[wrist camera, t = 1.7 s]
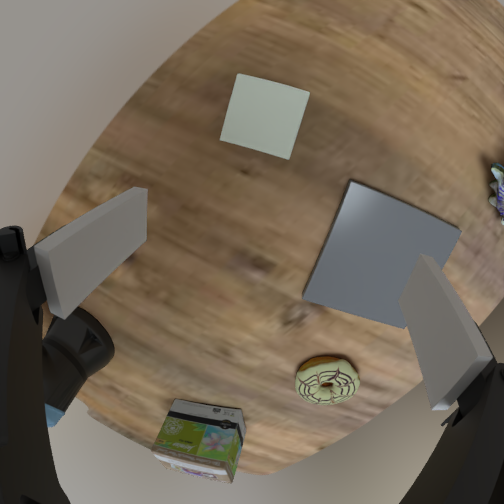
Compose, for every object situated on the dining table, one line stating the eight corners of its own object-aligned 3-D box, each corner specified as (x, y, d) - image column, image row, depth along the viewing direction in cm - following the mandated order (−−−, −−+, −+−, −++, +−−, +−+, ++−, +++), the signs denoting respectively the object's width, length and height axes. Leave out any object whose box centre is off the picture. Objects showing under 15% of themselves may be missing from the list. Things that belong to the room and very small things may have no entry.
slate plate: (302, 293, 38) (302, 299, 37) (349, 179, 30) (351, 181, 29) (402, 323, 37) (404, 329, 36) (457, 227, 30) (461, 231, 29)
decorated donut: (347, 344, 41) (349, 362, 37) (364, 382, 44) (366, 399, 41) (285, 362, 44) (283, 380, 41) (310, 397, 48) (309, 413, 45)
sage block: (239, 134, 30) (219, 140, 23) (253, 83, 27) (237, 73, 20) (292, 149, 30) (288, 160, 23) (308, 98, 27) (310, 92, 20)
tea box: (241, 407, 52) (225, 469, 39) (246, 429, 57) (233, 485, 44) (173, 396, 55) (149, 452, 42) (185, 420, 60) (165, 470, 47)
